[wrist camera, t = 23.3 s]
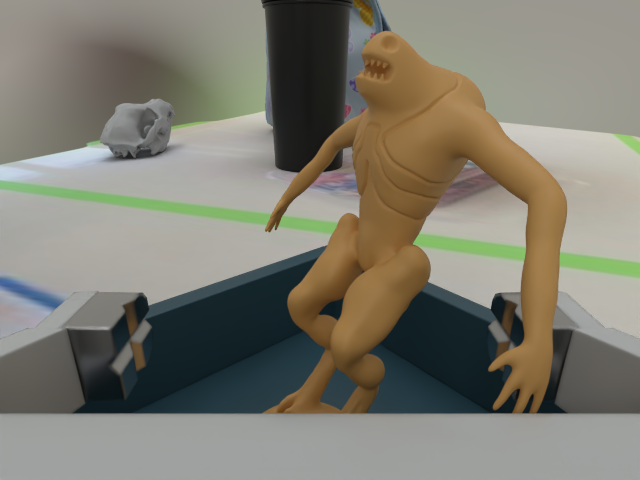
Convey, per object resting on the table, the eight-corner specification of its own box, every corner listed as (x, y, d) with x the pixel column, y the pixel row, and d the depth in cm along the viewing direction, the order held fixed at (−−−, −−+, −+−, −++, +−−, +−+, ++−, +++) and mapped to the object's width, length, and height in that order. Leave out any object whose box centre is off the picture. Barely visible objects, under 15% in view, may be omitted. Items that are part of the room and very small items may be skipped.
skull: (78, 139, 56) (117, 71, 61) (125, 178, 64) (157, 114, 68) (122, 139, 53) (160, 67, 58) (166, 180, 61) (197, 113, 65)
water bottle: (363, 162, 56) (371, -47, 47) (320, 178, 48) (320, -68, 40) (300, 153, 61) (297, -36, 53) (251, 166, 54) (238, -53, 45)
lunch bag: (395, 144, 69) (409, -54, 58) (293, 150, 63) (289, -66, 53) (342, 125, 88) (345, -25, 78) (261, 129, 83) (253, -32, 73)
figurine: (185, 457, 14) (118, 36, 9) (345, 390, 16) (356, 42, 12) (317, 835, 7) (316, -36, 2) (548, 614, 10) (751, 18, 5)
